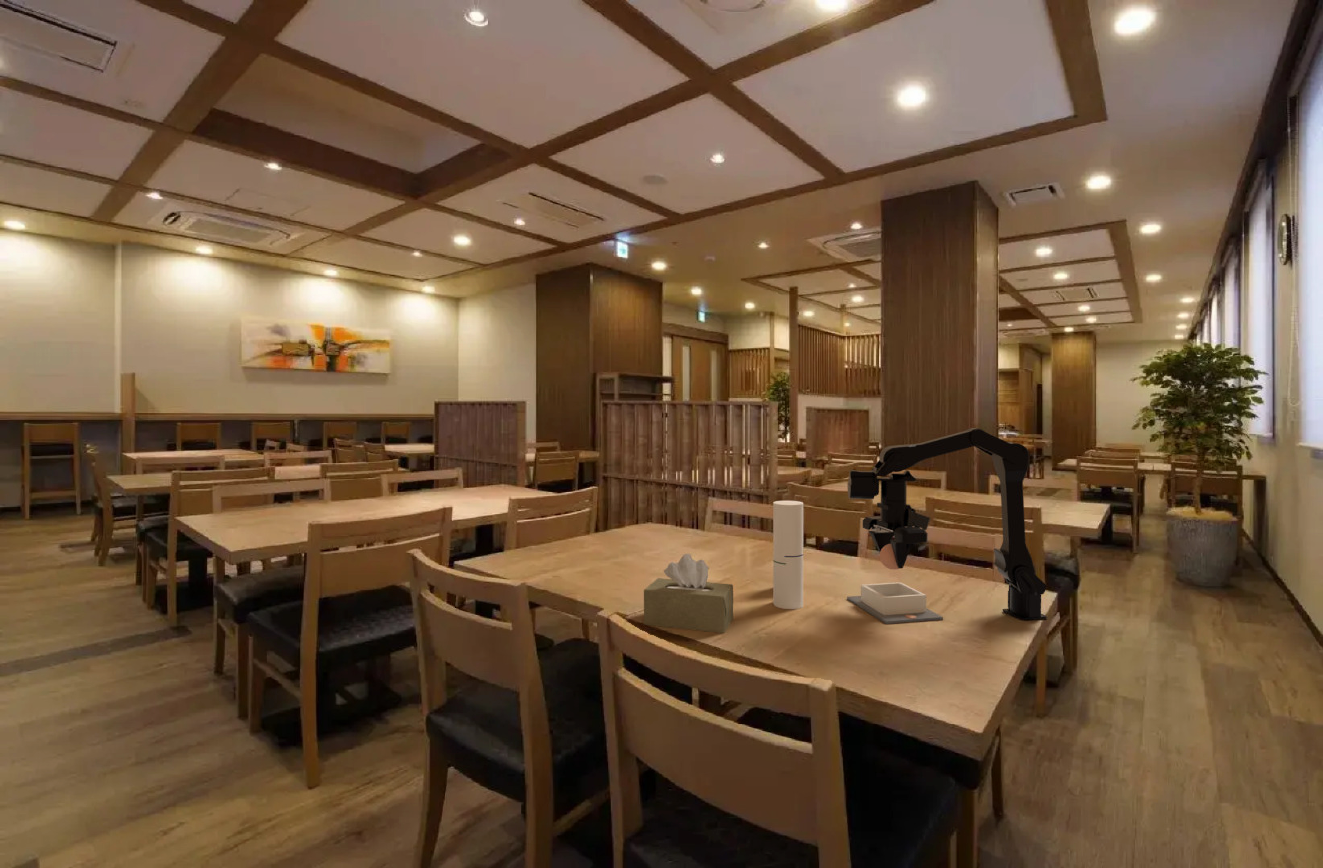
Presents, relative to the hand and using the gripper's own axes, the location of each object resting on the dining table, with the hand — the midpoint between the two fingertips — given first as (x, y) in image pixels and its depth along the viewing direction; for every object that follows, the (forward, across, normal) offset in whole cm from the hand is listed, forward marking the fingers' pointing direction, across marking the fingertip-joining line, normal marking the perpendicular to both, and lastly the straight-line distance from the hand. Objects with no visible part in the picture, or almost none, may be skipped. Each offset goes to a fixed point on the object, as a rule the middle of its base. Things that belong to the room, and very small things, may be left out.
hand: (893, 564), depth 143 cm
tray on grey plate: (+11, 0, 0) cm, 11 cm away
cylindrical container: (+11, +8, +23) cm, 27 cm away
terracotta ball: (-2, 0, 0) cm, 2 cm away
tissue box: (+11, +1, +49) cm, 51 cm away
